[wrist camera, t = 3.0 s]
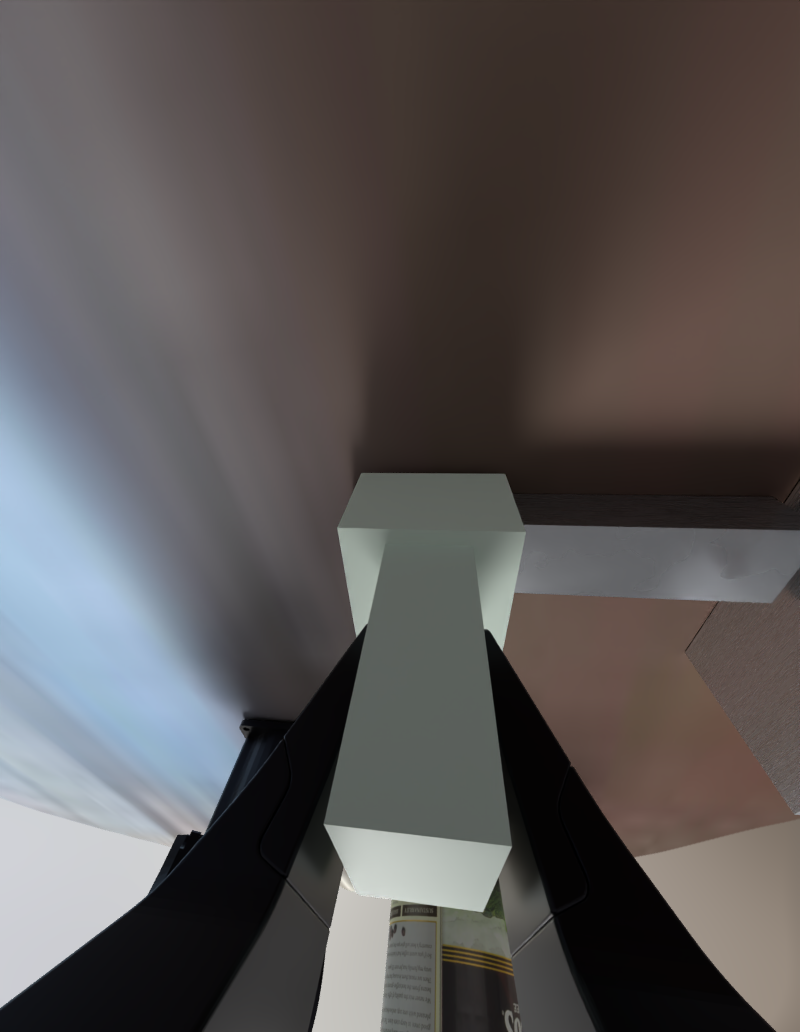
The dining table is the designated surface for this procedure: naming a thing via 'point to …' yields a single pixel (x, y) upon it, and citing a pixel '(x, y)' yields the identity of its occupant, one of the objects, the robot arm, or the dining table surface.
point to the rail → (658, 546)
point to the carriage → (425, 687)
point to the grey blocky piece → (759, 676)
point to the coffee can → (449, 970)
